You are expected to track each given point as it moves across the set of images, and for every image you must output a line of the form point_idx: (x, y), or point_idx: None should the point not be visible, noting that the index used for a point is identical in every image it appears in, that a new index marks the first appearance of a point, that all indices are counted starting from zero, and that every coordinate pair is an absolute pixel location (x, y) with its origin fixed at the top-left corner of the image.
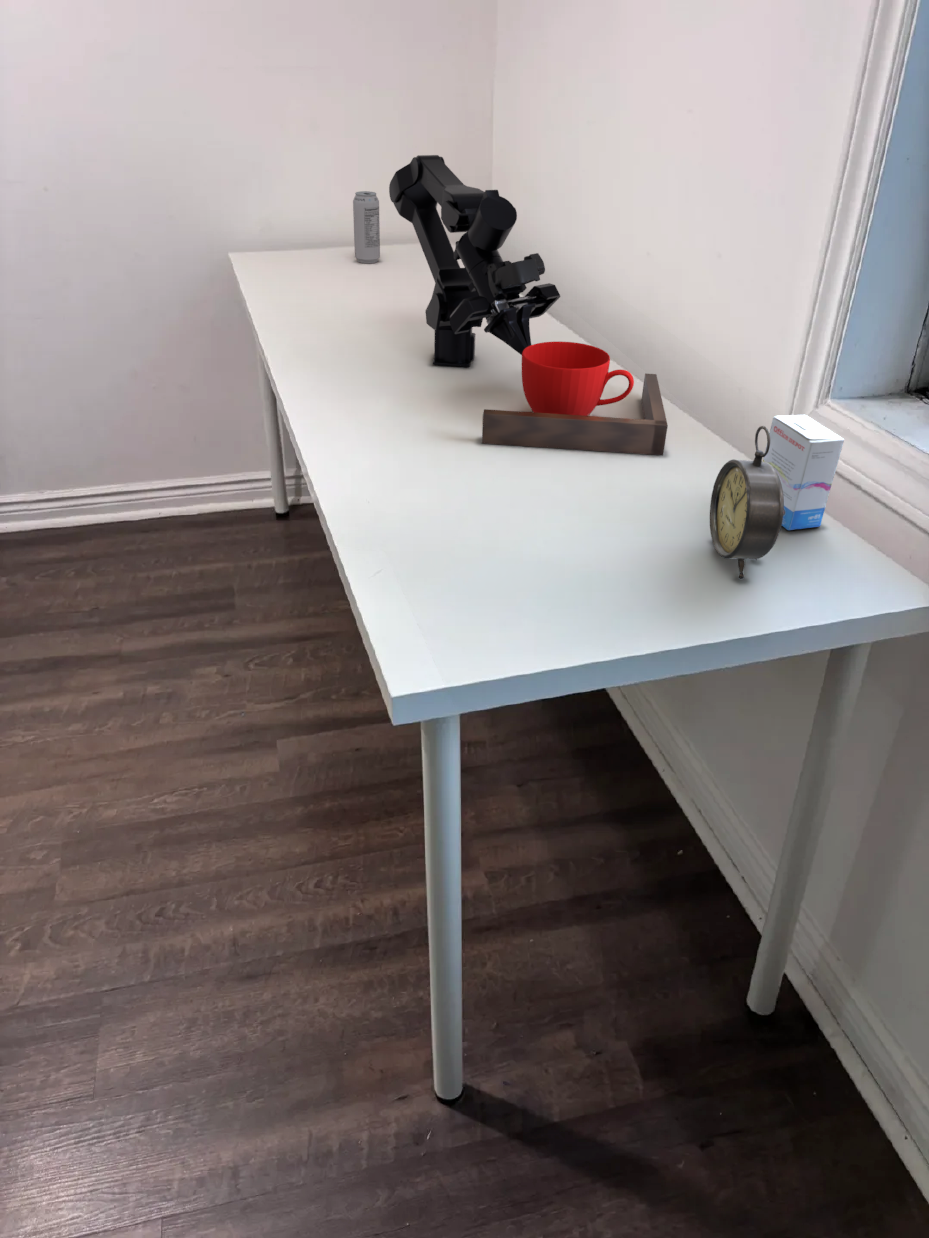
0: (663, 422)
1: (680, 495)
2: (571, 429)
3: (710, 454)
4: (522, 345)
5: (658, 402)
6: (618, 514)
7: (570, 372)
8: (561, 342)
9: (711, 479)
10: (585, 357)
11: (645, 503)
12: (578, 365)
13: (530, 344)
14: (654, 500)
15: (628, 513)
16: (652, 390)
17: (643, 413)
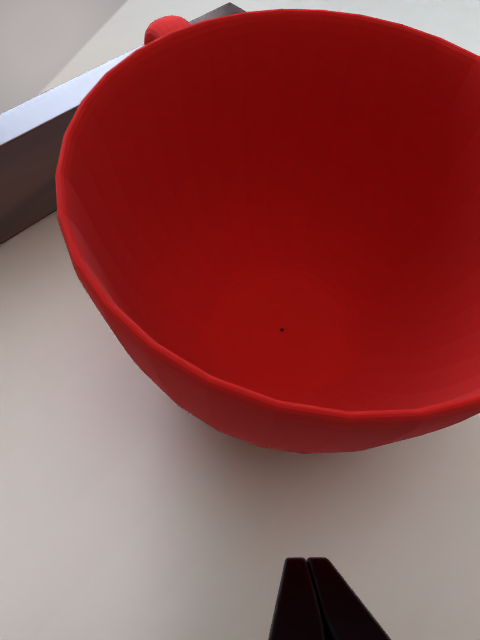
0: (222, 12)
1: (333, 5)
2: None
3: (140, 44)
4: (381, 630)
5: (105, 72)
6: (472, 19)
7: (440, 55)
8: (151, 340)
9: (238, 6)
10: (97, 245)
11: (407, 16)
12: (121, 302)
13: (285, 615)
14: (385, 15)
15: (455, 14)
16: (17, 124)
17: (27, 226)
